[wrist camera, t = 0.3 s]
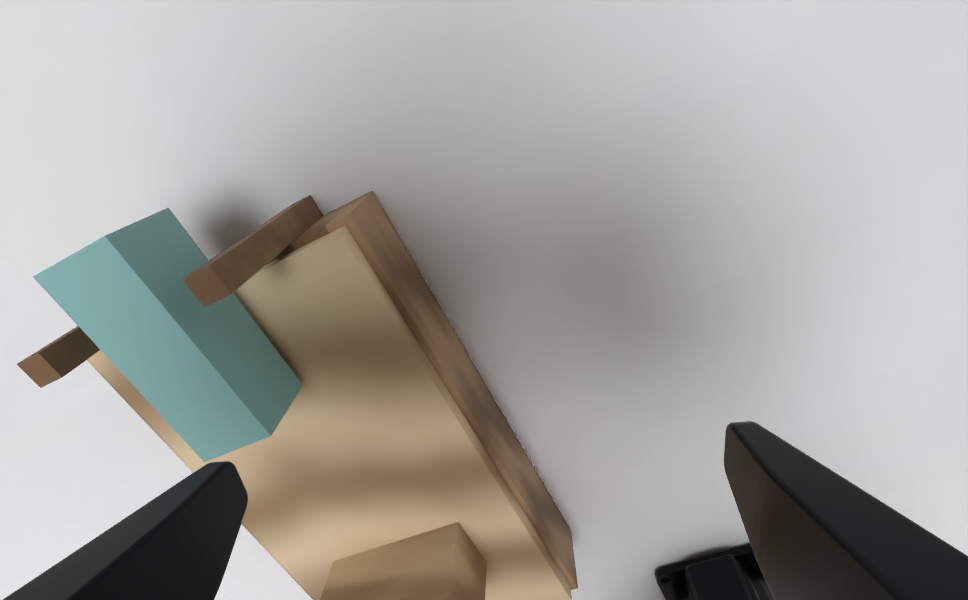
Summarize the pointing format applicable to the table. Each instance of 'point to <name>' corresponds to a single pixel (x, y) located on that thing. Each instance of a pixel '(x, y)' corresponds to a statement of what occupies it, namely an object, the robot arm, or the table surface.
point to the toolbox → (413, 304)
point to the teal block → (175, 335)
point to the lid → (367, 451)
